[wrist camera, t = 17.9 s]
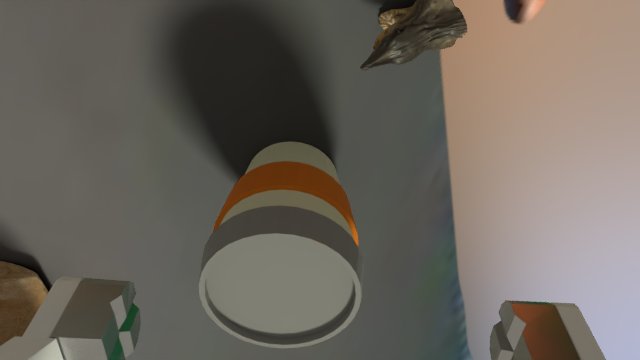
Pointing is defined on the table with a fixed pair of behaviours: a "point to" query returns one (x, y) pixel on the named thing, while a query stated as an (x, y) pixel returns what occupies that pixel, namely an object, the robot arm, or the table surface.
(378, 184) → the table surface
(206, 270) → the reusable coffee cup
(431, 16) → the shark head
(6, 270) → the brown boot
